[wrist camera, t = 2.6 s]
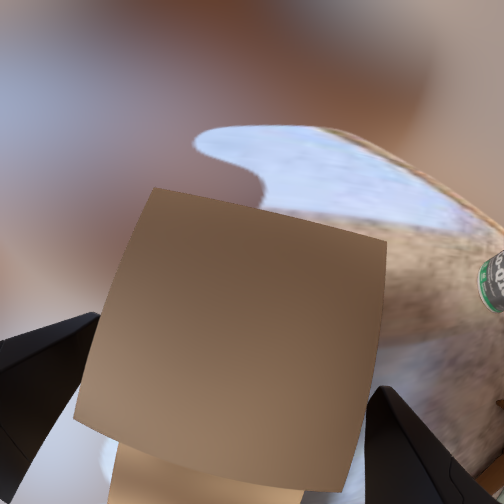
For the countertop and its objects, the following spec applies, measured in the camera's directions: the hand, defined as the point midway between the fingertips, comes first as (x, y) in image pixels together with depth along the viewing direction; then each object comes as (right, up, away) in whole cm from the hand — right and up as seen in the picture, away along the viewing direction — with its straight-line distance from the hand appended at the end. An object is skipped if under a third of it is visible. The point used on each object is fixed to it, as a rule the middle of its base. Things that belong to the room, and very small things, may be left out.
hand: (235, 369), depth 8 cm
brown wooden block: (0, -3, +7) cm, 8 cm away
